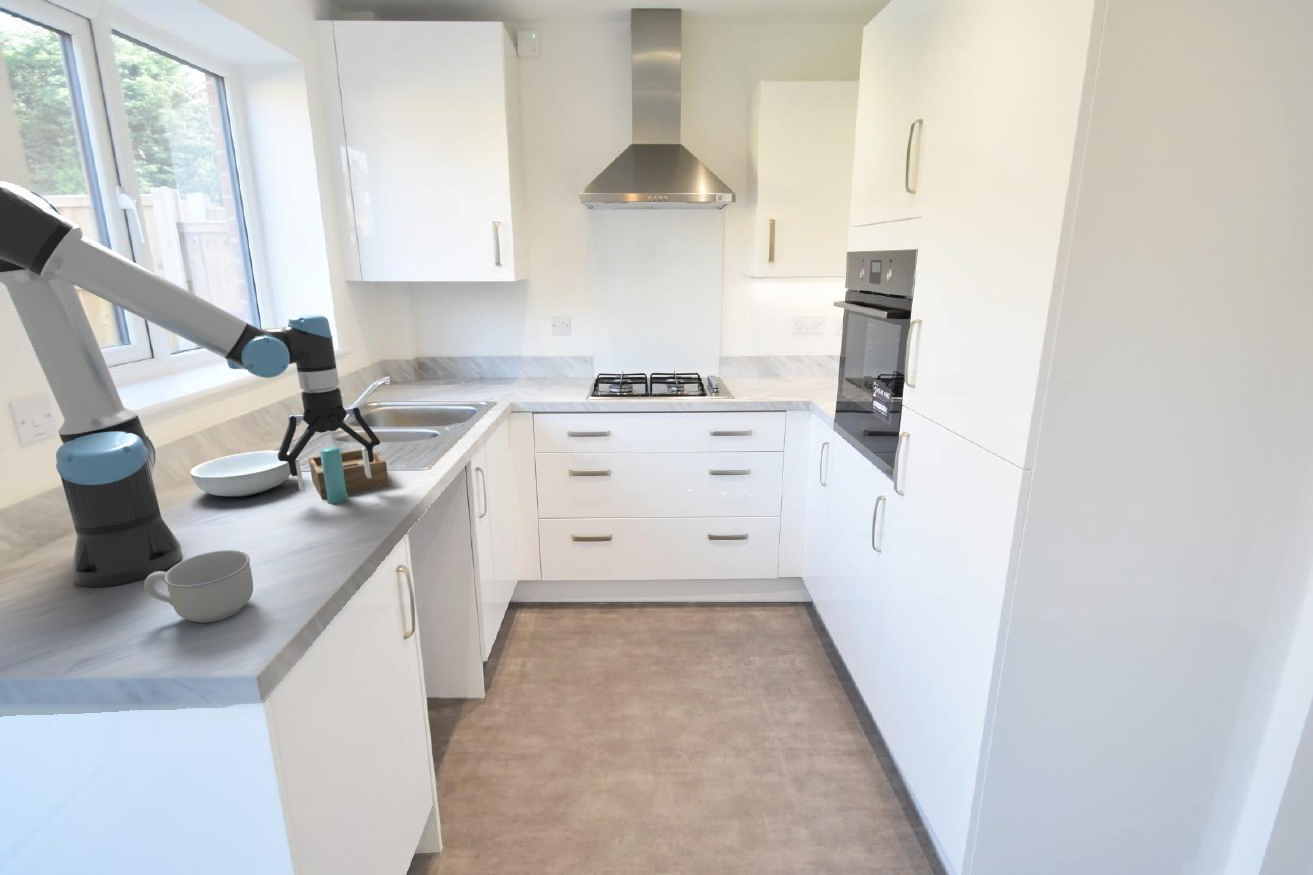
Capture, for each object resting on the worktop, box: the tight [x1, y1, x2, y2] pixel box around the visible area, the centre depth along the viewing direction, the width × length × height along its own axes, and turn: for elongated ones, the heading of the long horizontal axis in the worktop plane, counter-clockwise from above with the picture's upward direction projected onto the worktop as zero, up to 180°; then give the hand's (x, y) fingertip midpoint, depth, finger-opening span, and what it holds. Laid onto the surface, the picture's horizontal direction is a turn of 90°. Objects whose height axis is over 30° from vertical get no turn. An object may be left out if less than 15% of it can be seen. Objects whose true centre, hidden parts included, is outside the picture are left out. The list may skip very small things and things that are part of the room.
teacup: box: [143, 549, 254, 624], centre depth 100 cm, size 14×11×8 cm
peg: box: [319, 446, 348, 505], centre depth 145 cm, size 4×4×12 cm
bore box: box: [308, 448, 390, 499], centre depth 157 cm, size 15×15×6 cm
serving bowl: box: [189, 450, 292, 497], centre depth 154 cm, size 21×21×7 cm
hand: (336, 482), depth 146 cm, fingers open, 13 cm apart
